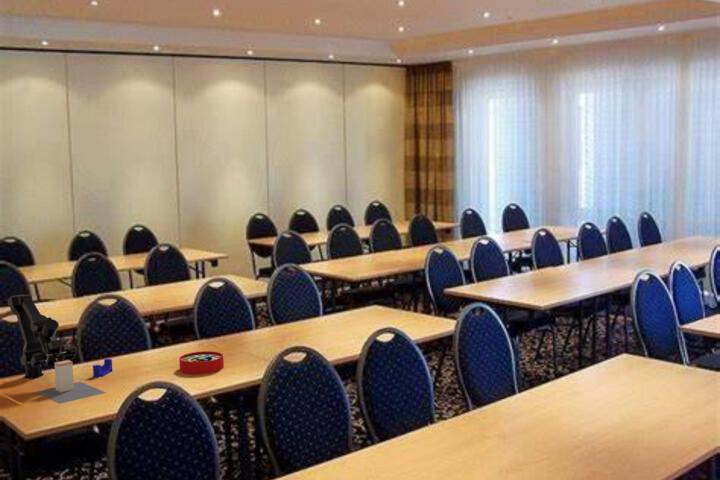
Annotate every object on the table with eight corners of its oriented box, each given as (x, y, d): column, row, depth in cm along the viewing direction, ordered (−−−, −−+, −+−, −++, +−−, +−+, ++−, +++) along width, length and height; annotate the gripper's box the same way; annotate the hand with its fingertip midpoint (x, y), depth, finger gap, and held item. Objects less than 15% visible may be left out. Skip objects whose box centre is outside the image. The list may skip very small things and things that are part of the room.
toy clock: (170, 357, 375) (205, 349, 390) (171, 370, 376) (206, 361, 391) (196, 364, 362) (232, 355, 376) (197, 377, 362) (232, 367, 377)
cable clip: (103, 371, 376) (102, 358, 376) (112, 371, 375) (111, 358, 375) (90, 378, 365) (89, 365, 364) (99, 378, 364) (98, 365, 363)
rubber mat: (35, 393, 343) (34, 391, 343) (80, 383, 357) (80, 381, 357) (59, 405, 326) (59, 403, 326) (106, 393, 340) (106, 392, 340)
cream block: (56, 390, 344) (54, 362, 343) (70, 387, 348) (68, 359, 347) (60, 392, 341) (58, 364, 340) (74, 389, 346) (72, 361, 344)
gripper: (31, 336, 342) (44, 366, 336) (74, 328, 355) (87, 357, 349) (25, 351, 349) (37, 381, 342) (67, 343, 362) (80, 372, 355)
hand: (61, 372), depth 347 cm, fingers closed
